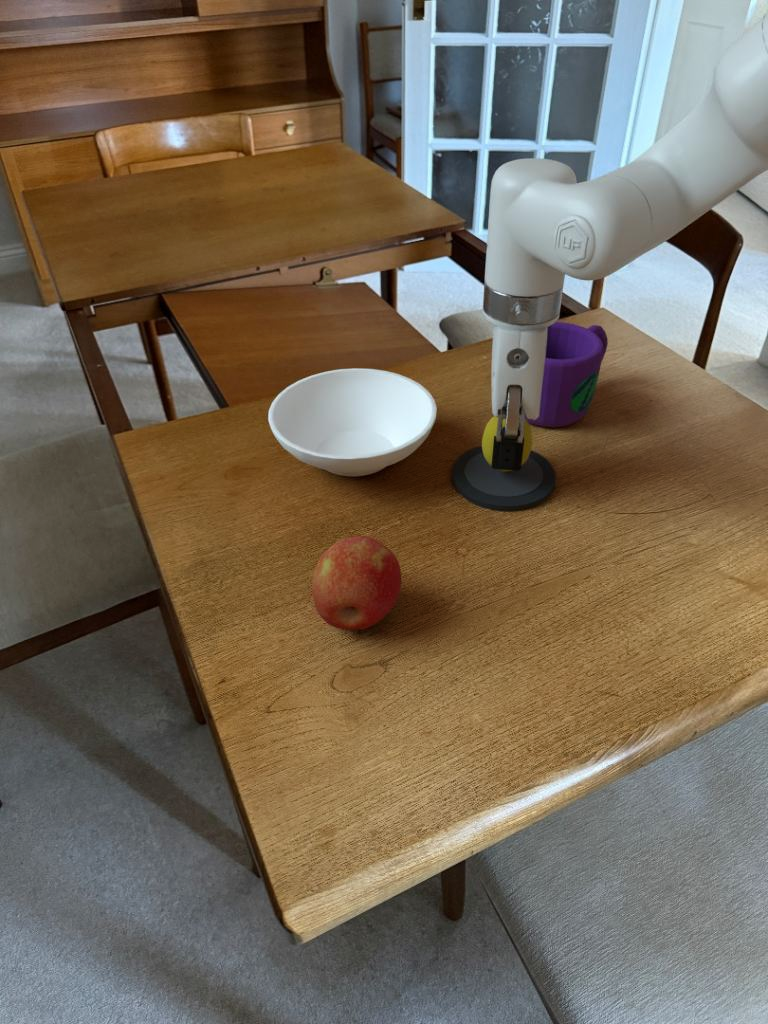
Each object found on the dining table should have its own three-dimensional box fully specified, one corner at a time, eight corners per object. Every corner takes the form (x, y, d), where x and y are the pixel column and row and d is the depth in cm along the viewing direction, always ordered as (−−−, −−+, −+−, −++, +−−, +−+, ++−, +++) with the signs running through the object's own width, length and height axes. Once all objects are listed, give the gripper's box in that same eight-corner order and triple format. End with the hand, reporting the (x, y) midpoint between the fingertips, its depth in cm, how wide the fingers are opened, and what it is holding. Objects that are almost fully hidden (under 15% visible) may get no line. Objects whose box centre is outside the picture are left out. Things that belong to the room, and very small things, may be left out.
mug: (555, 444, 91) (566, 372, 85) (485, 409, 98) (491, 340, 91) (634, 393, 100) (649, 324, 94) (565, 364, 107) (575, 298, 100)
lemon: (490, 489, 83) (496, 429, 78) (473, 461, 87) (477, 403, 82) (536, 480, 84) (544, 420, 79) (516, 453, 88) (523, 395, 83)
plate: (562, 458, 89) (563, 452, 89) (546, 520, 80) (547, 513, 80) (464, 442, 92) (465, 436, 92) (439, 500, 84) (440, 493, 83)
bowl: (464, 442, 92) (467, 394, 88) (377, 530, 80) (375, 479, 75) (337, 399, 101) (334, 354, 96) (241, 472, 88) (232, 424, 84)
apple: (411, 594, 72) (411, 533, 67) (380, 658, 66) (378, 596, 61) (336, 574, 75) (331, 514, 70) (300, 634, 69) (291, 573, 64)
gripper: (564, 342, 65) (541, 501, 77) (558, 267, 78) (539, 413, 90) (479, 338, 66) (468, 496, 78) (486, 264, 79) (477, 409, 91)
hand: (506, 450), depth 84 cm, fingers closed on lemon, 5 cm apart
